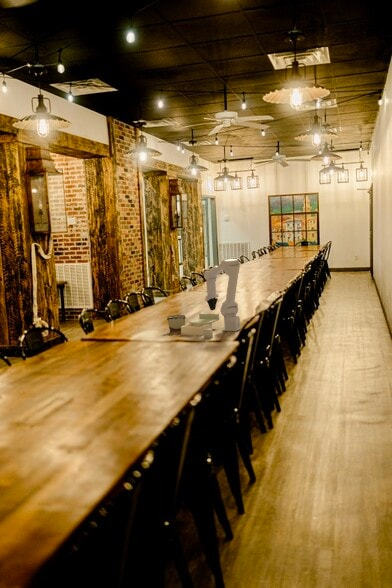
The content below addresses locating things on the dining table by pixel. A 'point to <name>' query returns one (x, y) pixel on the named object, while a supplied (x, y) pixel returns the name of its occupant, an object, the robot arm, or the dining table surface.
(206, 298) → the robot arm
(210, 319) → the lid
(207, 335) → the cream rounded piece
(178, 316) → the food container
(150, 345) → the dining table surface
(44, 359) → the dining table surface
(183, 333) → the box
